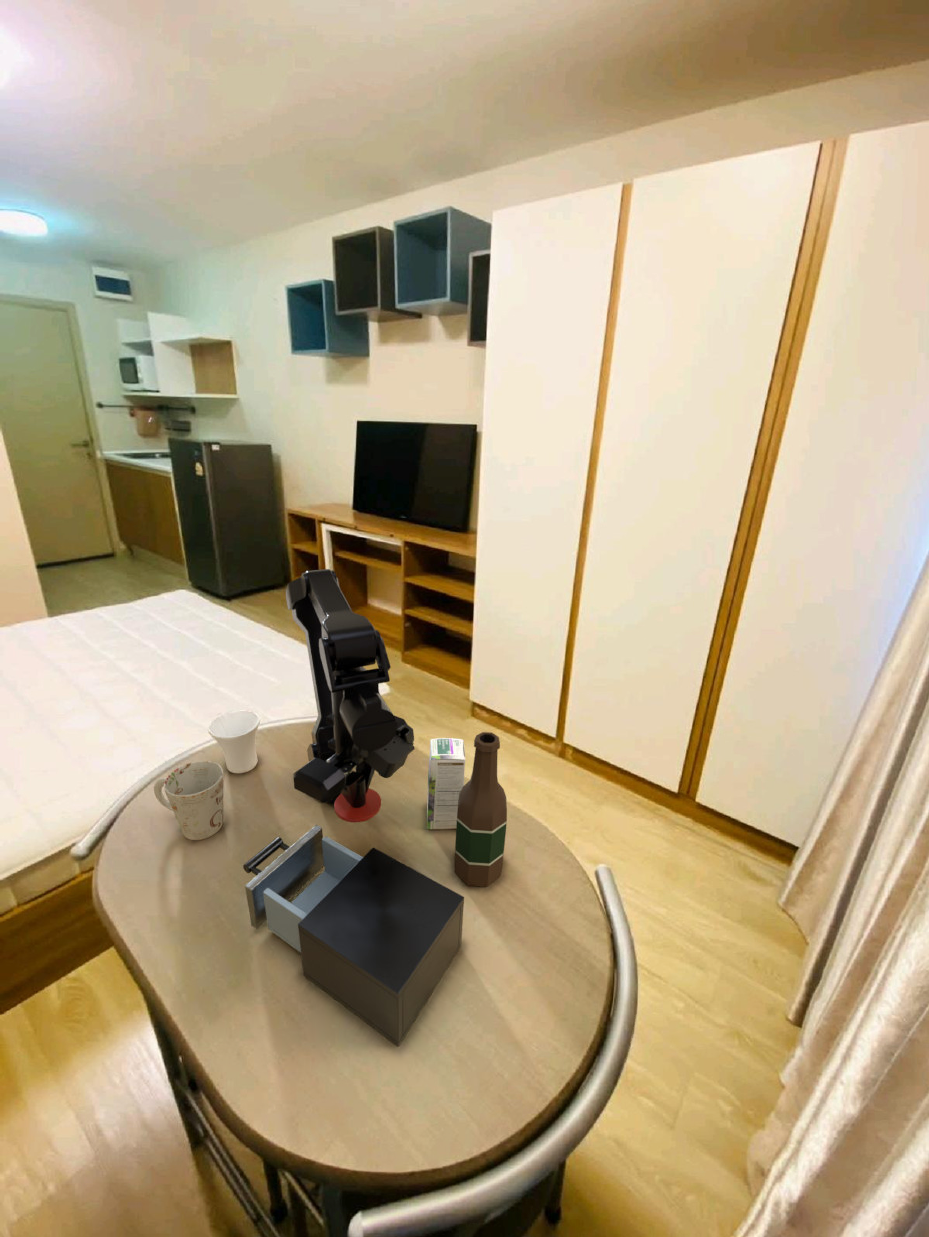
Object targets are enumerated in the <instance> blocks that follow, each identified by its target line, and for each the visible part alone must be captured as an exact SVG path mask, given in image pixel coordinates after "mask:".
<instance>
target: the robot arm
mask: <svg viewBox="0 0 929 1237" xmlns="http://www.w3.org/2000/svg"><path fill="white" fill-rule="evenodd" d="M285 600H286V605H287V609H288V610H289V611H291V614H292V619H293V621H294V623H296V625H297V626H298V627H299V628H300V629H301V631H303V633H304V635H305V641H306V647H307V654H308V660H309V666H310V672H311V678H312V685H313V686H312V687H313V691H314V698H315V705H316V710H317V718H316V720H315V723H314V724H313V727H312V730H311V741H312V743H310V744H309V745H308V747H307V749H306V752H307V759H308V762H307V763H306V764H304V765H302V767H300V768H298V769H297V770H296V771H295V772H294V773H293V775H292V776H293V777H292V781H293V789H294V790H297V791H299V792H300V793H303V794H304V795H306V796H308V797H310V798H312V799H314V800H316V801H318V802H320V803H322V804H324V803H329V804H331V805H333V806H334V804H335V801H336V799H337V797H338V796H339V795H340V794H341V793H342V795H343V796H344V798H345V799H346V801H347V802H348V803H349V804H351V805H354V804H355V800H356V781H357V780H359V779H360V778H361V777H362V776H363V775H364V777H365V789H366V793H367V792H368V789H369V788H370V786H371V782H372V779H373V777H374V774H375V772H376V773H377V774H378V775H379V777H381V778H384V779H390V778H392V777H393V775H394V774H395V773H396V772H397V771H398V770H400V768H402V767H403V766H405V763H406V761H407V759H408V756H409V755H410V754H411V753H412V752H413V751H414V750H415V746H414V742H415V733H414V728H413V727H411V726H410V725H409V724H408V722H407V721H406V720H405V719H404V718H402V717H400V716H397V715H395V714H394V713H393V711H392V710H391V708H390V707H389V705H388V704H387V703H386V701H385V700H384V698H383V696H382V694H381V693H380V688H379V687H380V686H379V685H380V684H384V683H389V682H390V681H391V679H390V675H389V671H390V669H391V668H392V667H391V662H390V659H389V656H388V653H387V649H386V645H385V641H384V639H383V637H382V636H381V632H380V631H379V630H377V629H376V628H375V627H374V625H373V624H372V622H370V620H369V619H368V618H367V617H366V616H364V615H361V614H359V613H355V612H354V611H353V609H352V608H351V606H350V604H349V602H348V601H347V598H346V597H345V595H344V593H343V591H342V590H341V587H340V583H339V578H338V577H337V573H336V571H335V570H334V569H330V568H324V569H315V570H306V571H305V572H302V573H301V575H300V577H298V578H296V579H294V580H292V581H290V582H288V583H287V586H286V589H285ZM373 665H377V668H372V669H371V668H370V669H367V668H365V667H368V666H369V667H370V666H373Z"/></svg>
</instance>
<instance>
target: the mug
mask: <svg viewBox="0 0 929 1237" xmlns="http://www.w3.org/2000/svg"><path fill="white" fill-rule="evenodd" d="M224 778H225V776H224V770H223V768H222V766H221V765H220V764H219V763H218V762H214V761H211V760H198V761H193V762H190V763H186V764H183V765H181V766H179V767H177V768H176V769H174V770H172V772H170V773H169V774H168V776H166V777H161V778H159V779H157V780H156V782H155V783H154V786H153V793H154V796H155V798H156V799H157V801H158V802H159V803H160V805H162V806H163V807H165V808H166V809H167V810H169V811H171V812H173V814H174V816H175V818H176V821H177V823H178V825H179V828H180V831H181V834H182V835H183V836H184V838H186V839H187V840H190V841H201V840H205V839H208V838H209V837H212V836H214V835H215V834H216V833H218V832H219V831H220V830H221V828H222V827H223V825H224V784H225V783H224V782H225V781H224ZM163 789H164V792H165V795H166V797H165V796H164V795H163V793H162V790H163ZM166 798H167V799H166Z"/></svg>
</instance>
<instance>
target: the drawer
mask: <svg viewBox="0 0 929 1237" xmlns="http://www.w3.org/2000/svg"><path fill="white" fill-rule="evenodd" d="M323 833H324V832H323V827H322V826H319V825H318V824H316V825H314V826H313V827H312V828H311V829H310V830H308V831H307V832H306V833H305V834H304V835H302V836H301V837H299V839H298V840H297V841H296V842H294V843H293V844H291V846H290V845H288V844H286V843H285V842H284V839H282V837H280V836H277V837H276V838H274V840H272V841H271V842H269V843H268V844H267V845H266V846H265V847H263V848H262V849H261V850H260V851H259V852H257V853H256V854H255V855H253V857H251V858H250V859H249V860H247V861H246V862H245V863H243V865H242V868H243V870H244V872H245V873H247V874H251V873H252V874H254V875H255V877H253V878H251V880H249V881H248V883H246V884H245V885H244V889H245V896H246V901H247V902H246V903H247V908H248V914H249V920H250V926H251V927H253V928H254V929H255V930H259V929H260V928H261V927H262V926H263V925H264V924H265V923H266V922H267V923H266V924H267V928H268V931H270V932H271V933H273V934H274V935H276V936H277V937H278V938H280V939H281V941H283V942H285V943H287V945H289V946H291V947H292V948H293V949H295V950H296V951H298V952H299V953H300V954H301V947H300V938H299V929H298V924H299V923H300V922H301V921H302V920H303V919H304V917H305V916H306V915H307V914H308V913H309V912H310V911H311V910H312V909H313V908H314V907H315V906H316V905H317V904H318V903H319V902H320V901H321V900H322V899H323V898H324V897H325V896H326V895H327V894H328V893H329V892H330V891H331V890H332V889H333V888H334V887H335V886H336V885H337V884H338V883H339V882H340V881H341V880H342V879H343V878H344V877H345V875H346V874H347V873H348V872H349V871H350V870H351V869H352V868H353V867H354V866H355V865H356V864H357V863H358V862H359V861H360V860H361V859H362V858H363V857H364V856H361V855H360V854H358V853H356V852H355V851H353V850H351V849H349V848H348V847H346V846H344V845H342V844H340V843H338V842H337V841H335V840H334V839H332V838H330V837H328V836H324V834H323ZM279 849H282V850H283V851H284V852H283V853H282V854H280V855H279V856H278V857H277V858H276V859H274V860H273V861H272V862H271V863H270V864H269V865H268V866H266V867H265V868H264V869H263V870H261V869H260V868H258V867H259V866H260V865H261V864H263V863H264V862H265V861H266V860H268V858H269V857H271V856H272V855H273V854H275V852H277V851H278V850H279ZM322 869H323V871H322V872H321V873H320V874H319V875H318V876H317V877H316V878H315V879H314V880H313V881H312V882H311V883H310V884H309V885H307V887H306V888H305V889H303V891H302V892H300V893H299V895H298V896H296V897H295V898H294V899H293V900H292V901H291V902H290V901H289V900H290V899H291V898H293V897H294V895H295V894H297V893H298V891H300V890H301V889H302V888H303V887H304V886H305V885H306V884H307V883H308V882H309V881H311V879H312V878H314V876H315V875H317V873H318V872H319V871H321V870H322Z"/></svg>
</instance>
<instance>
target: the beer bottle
mask: <svg viewBox="0 0 929 1237" xmlns="http://www.w3.org/2000/svg"><path fill="white" fill-rule="evenodd" d="M473 740H474V741H473V747H474V748H475V750H474V757H473V765H472V771H471V772H472V773H471V775H470V779H469V781H467V782H466V783H464V786H463V788H462V790H461V792H460V793H459V800H458V809H457V825H456V829H455V846H454V873H455V874H456V875H457V877H459V878H460V879H461V881H462V882H464V883H465V884H466V885H467V886H472V887H473V886H474V887H489V885H491V884H492V883H493V882H495V881H496V880H497V879H499V877H501V876H502V870H503V864H504V853H505V844H506V834H507V833H506V832H507V825H508V824H507V823H508V806H507V805H508V804H507V803H508V802H507V795H506V791H505V789H504V788H503V786H502V785H501V784H500V783H499V779H498V750H499V749H501V740H500V737H499V736H498V735H497V734H496V733H493V732H488V731H482V732H480V733H478V734H476V735H475V737H474V739H473Z"/></svg>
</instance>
